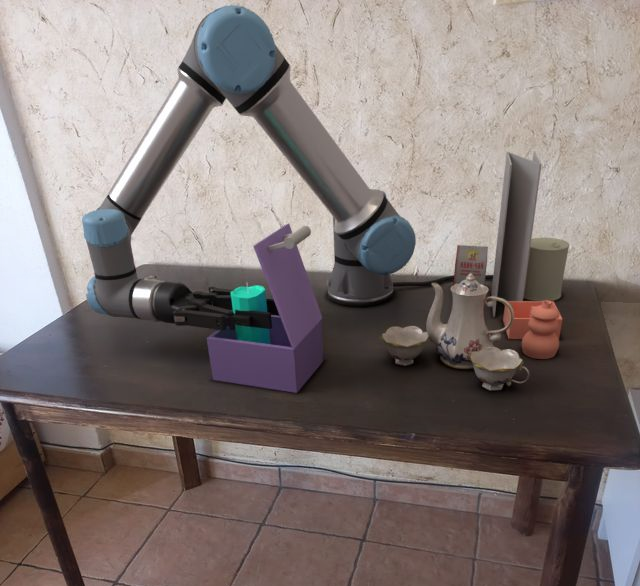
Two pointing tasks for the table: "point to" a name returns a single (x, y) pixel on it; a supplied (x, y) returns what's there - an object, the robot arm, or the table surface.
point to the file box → (266, 358)
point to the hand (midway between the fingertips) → (277, 314)
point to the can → (545, 269)
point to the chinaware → (460, 336)
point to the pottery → (535, 327)
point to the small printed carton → (470, 263)
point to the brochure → (515, 227)
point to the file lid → (289, 281)
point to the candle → (250, 301)
